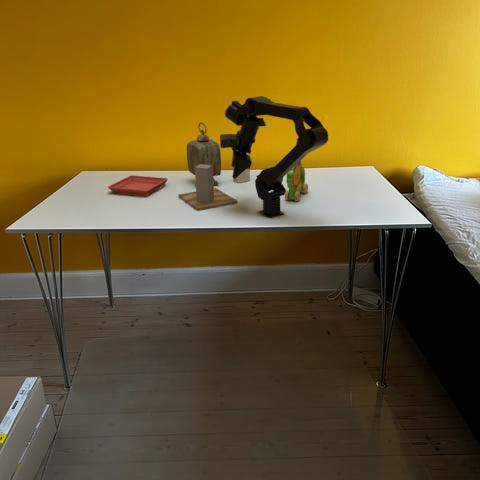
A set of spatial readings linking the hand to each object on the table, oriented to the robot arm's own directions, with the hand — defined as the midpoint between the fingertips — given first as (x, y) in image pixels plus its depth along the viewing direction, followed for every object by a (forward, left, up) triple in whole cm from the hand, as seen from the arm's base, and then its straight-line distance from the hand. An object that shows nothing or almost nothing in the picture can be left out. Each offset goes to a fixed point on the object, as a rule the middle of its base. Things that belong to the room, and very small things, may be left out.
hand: (233, 172), depth 169 cm
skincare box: (+25, -17, -12) cm, 33 cm away
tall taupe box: (+7, +8, -11) cm, 16 cm away
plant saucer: (+37, +24, -13) cm, 46 cm away
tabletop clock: (+30, -2, -12) cm, 33 cm away
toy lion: (-5, -24, -13) cm, 27 cm away
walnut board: (+10, +6, -12) cm, 17 cm away
